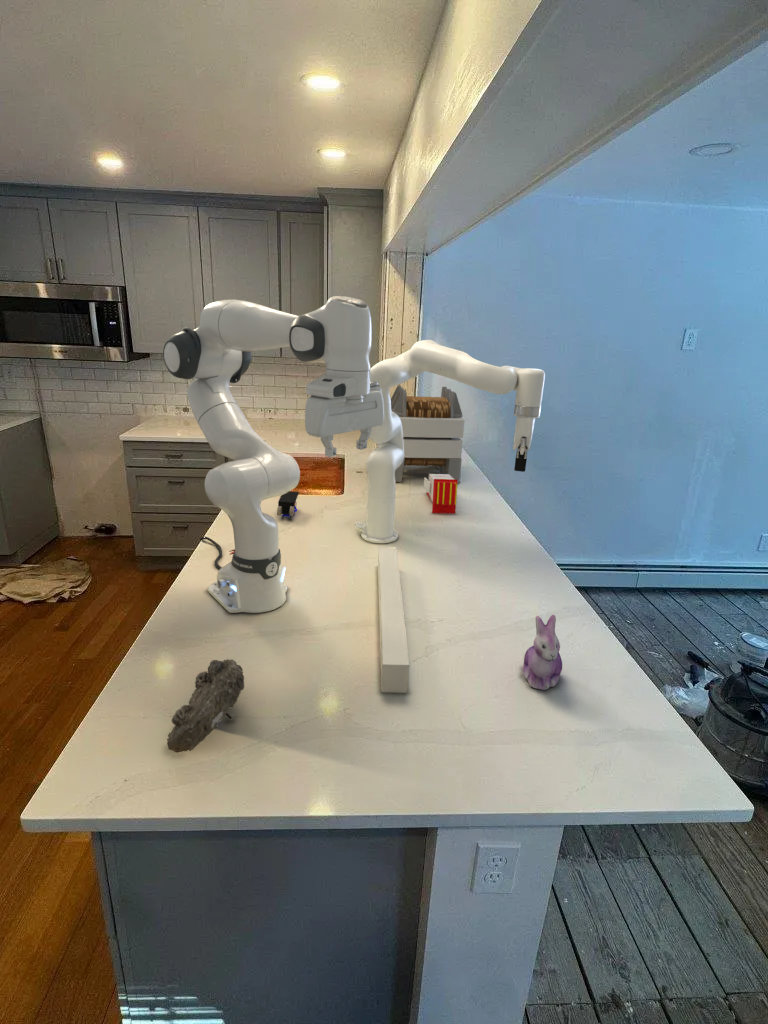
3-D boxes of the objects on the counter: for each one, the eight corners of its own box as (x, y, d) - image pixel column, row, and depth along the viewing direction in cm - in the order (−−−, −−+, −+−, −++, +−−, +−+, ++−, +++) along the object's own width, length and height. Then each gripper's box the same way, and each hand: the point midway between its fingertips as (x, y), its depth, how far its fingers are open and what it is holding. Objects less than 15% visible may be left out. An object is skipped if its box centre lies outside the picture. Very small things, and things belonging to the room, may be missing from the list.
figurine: (541, 697, 118) (551, 634, 112) (509, 670, 126) (518, 610, 121) (575, 685, 122) (586, 624, 117) (542, 660, 130) (551, 602, 125)
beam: (377, 567, 173) (378, 546, 171) (395, 567, 174) (396, 547, 171) (381, 692, 117) (382, 664, 115) (407, 692, 117) (409, 664, 115)
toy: (450, 470, 246) (461, 480, 217) (448, 500, 249) (459, 514, 219) (422, 469, 246) (430, 479, 216) (421, 499, 248) (428, 514, 219)
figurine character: (294, 525, 207) (299, 507, 220) (294, 506, 203) (299, 489, 217) (276, 524, 206) (282, 506, 220) (275, 506, 203) (281, 489, 216)
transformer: (382, 463, 289) (386, 382, 275) (445, 464, 293) (451, 384, 279) (390, 482, 257) (394, 392, 243) (460, 483, 261) (468, 394, 247)
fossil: (192, 660, 117) (244, 628, 112) (224, 691, 120) (276, 661, 115) (142, 746, 98) (202, 712, 93) (182, 779, 101) (242, 748, 96)
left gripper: (369, 379, 121) (367, 442, 126) (299, 386, 106) (300, 457, 111) (392, 382, 118) (389, 447, 122) (323, 390, 103) (323, 464, 107)
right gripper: (515, 406, 177) (508, 459, 183) (513, 415, 161) (506, 473, 167) (540, 408, 175) (532, 461, 181) (540, 417, 160) (532, 475, 165)
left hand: (346, 452), depth 117 cm, fingers open, 8 cm apart
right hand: (520, 467), depth 174 cm, fingers open, 9 cm apart
